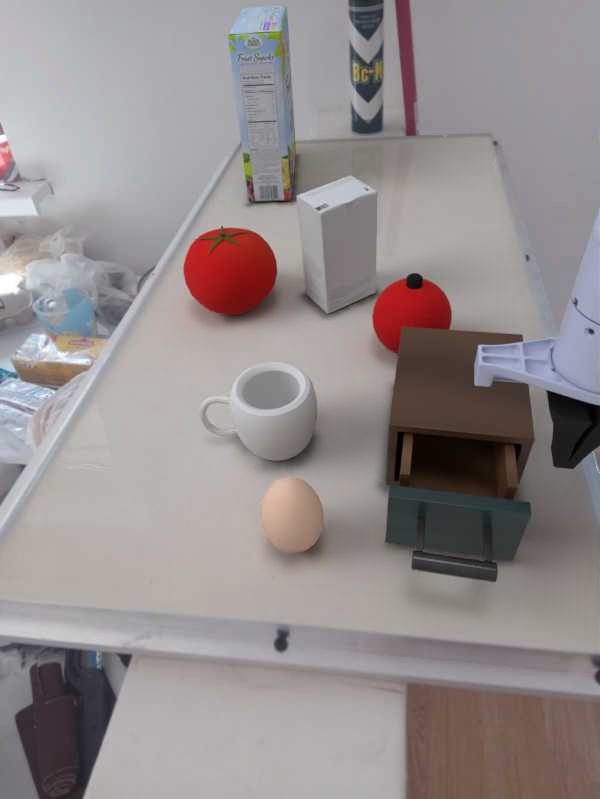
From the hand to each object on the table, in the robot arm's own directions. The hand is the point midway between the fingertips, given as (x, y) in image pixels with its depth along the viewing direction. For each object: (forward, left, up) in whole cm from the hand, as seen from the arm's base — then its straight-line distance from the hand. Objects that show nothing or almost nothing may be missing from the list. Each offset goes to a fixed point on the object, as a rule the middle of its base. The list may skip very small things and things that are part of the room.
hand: (562, 457), depth 40 cm
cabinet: (+7, -10, -10) cm, 16 cm away
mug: (+26, -7, -11) cm, 29 cm away
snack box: (+40, -72, -11) cm, 83 cm away
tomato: (+36, -31, -11) cm, 49 cm away
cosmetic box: (+22, -34, -11) cm, 42 cm away
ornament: (+12, -24, -11) cm, 29 cm away
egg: (+20, +4, -11) cm, 23 cm away
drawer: (+7, -1, -9) cm, 12 cm away
